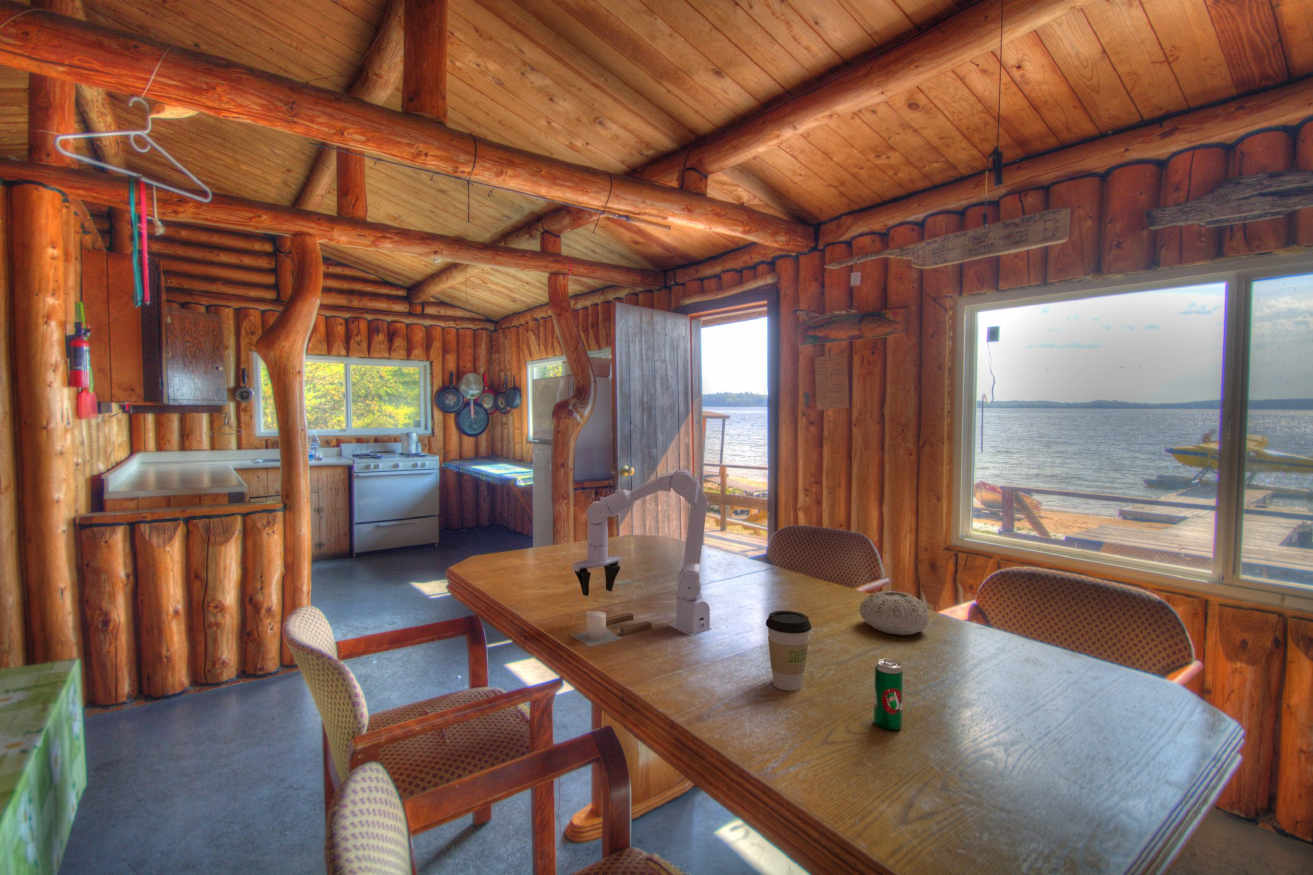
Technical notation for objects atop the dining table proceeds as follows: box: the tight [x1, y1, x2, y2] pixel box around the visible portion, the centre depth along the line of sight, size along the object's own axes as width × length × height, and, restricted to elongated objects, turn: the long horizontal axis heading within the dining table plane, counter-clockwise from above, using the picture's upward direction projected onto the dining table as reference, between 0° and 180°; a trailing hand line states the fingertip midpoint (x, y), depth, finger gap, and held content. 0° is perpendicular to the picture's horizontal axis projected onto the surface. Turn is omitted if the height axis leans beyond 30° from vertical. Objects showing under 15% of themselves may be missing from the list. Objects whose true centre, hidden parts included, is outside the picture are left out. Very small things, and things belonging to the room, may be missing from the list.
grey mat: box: [570, 629, 623, 648], centre depth 157 cm, size 10×10×1 cm
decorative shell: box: [859, 590, 929, 636], centre depth 166 cm, size 18×18×10 cm
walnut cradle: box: [606, 612, 653, 637], centre depth 165 cm, size 11×9×2 cm
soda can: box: [873, 658, 904, 732], centre depth 113 cm, size 5×5×12 cm
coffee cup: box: [765, 610, 812, 692], centre depth 130 cm, size 10×10×15 cm
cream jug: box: [585, 610, 607, 640], centre depth 158 cm, size 7×5×6 cm
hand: (597, 592), depth 166 cm, fingers open, 7 cm apart
